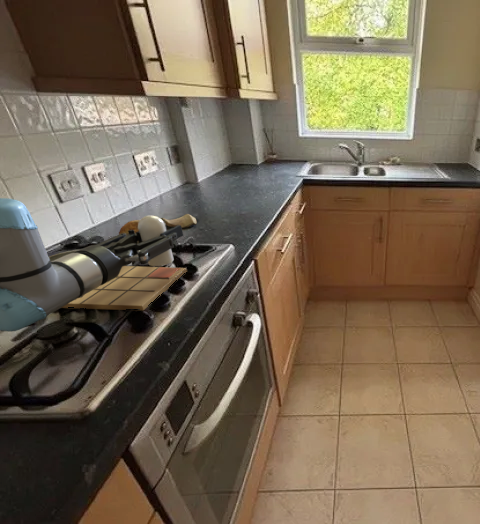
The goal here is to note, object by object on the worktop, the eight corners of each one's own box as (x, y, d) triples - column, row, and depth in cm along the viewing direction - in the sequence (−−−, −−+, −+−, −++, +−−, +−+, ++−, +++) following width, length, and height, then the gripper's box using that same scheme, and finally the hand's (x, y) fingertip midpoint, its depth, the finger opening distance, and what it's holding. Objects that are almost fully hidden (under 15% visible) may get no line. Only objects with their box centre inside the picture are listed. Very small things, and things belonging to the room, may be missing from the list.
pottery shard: (188, 222, 125) (158, 221, 118) (189, 210, 124) (159, 209, 117) (199, 231, 119) (167, 230, 112) (200, 219, 118) (168, 218, 110)
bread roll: (161, 249, 107) (166, 225, 107) (126, 246, 98) (132, 220, 97) (144, 243, 111) (149, 220, 111) (109, 239, 102) (114, 214, 102)
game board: (49, 307, 70) (46, 302, 69) (110, 269, 86) (109, 265, 86) (143, 310, 70) (142, 305, 69) (187, 271, 86) (186, 267, 86)
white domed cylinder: (143, 265, 79) (129, 219, 74) (157, 256, 84) (144, 212, 79) (166, 266, 79) (153, 219, 74) (178, 257, 84) (167, 212, 79)
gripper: (51, 283, 65) (140, 240, 86) (136, 291, 63) (206, 245, 84) (35, 248, 62) (132, 213, 83) (124, 255, 60) (200, 217, 81)
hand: (169, 229), depth 83 cm, fingers closed on white domed cylinder, 5 cm apart
